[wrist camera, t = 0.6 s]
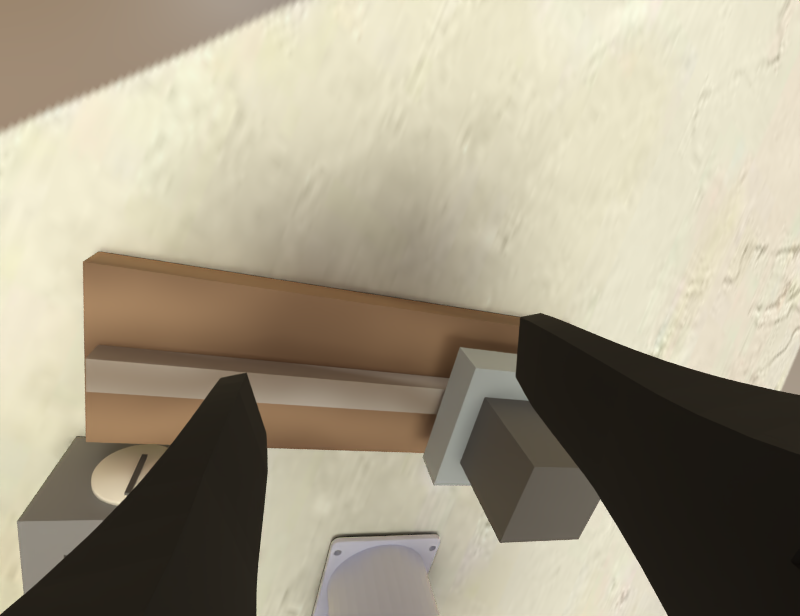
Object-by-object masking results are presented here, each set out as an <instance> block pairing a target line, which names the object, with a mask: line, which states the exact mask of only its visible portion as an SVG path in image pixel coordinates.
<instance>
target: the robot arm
mask: <svg viewBox="0 0 800 616" xmlns="http://www.w3.org/2000/svg"><path fill="white" fill-rule="evenodd" d="M515 377H516V379H517V381H518V383H519V384H520V386H521V388H522V390H523V392H524V394H525V395H526V397H527V399H528V400H529V402H530V404H531V405H532V407H533V408H534V410H535V411H536V413H537V414H538V415H539V417H540V418H541V419H542V421H543V422H544V423H545V425H546V426H547V427H548V429H549V430H550V431H551V432H552V434H553V435H554V436H555V438H556V439H557V440H558V442H559V443H560V444H561V445H562V447H563V448H564V449H565V451H566V452H567V453H568V454H569V456H570V457H571V458H572V460H573V461H574V462H575V464H576V465H577V466H578V467H579V469H580V470H581V471H582V473H583V474H584V475H585V477H586V478H587V480H588V481H589V482H590V484H591V485H592V487H593V488H594V489H595V491H596V493H597V494H598V496H599V497H600V499H601V501H602V502H603V504H604V505H605V507H606V509H607V510H608V512H609V513H610V515H611V517H612V518H613V520H614V521H615V523H616V525H617V526H618V528H619V530H620V531H621V533H622V535H623V537H624V538H625V540H626V542H627V543H628V545H629V547H630V548H631V550H632V552H633V554H634V555H635V557H636V559H637V560H638V562H639V564H640V565H641V567H642V569H643V571H644V573H645V575H646V576H647V578H648V580H649V582H650V584H651V586H652V587H653V589H654V591H655V593H656V595H657V596H658V598H659V600H660V602H661V604H662V606H663V607H664V609H665V611H666V613H667V615H668V616H800V395H796V394H791V393H786V392H781V391H776V390H771V389H767V388H763V387H758V386H754V385H750V384H745V383H741V382H736V381H733V380H729V379H725V378H721V377H717V376H713V375H710V374H707V373H703V372H700V371H696V370H693V369H689V368H686V367H683V366H679V365H676V364H673V363H670V362H667V361H664V360H661V359H658V358H656V357H653V356H650V355H647V354H644V353H642V352H639V351H636V350H633V349H631V348H628V347H626V346H623V345H620V344H618V343H615V342H613V341H610V340H608V339H605V338H603V337H600V336H598V335H596V334H593V333H591V332H588V331H586V330H583V329H581V328H579V327H576V326H574V325H571V324H569V323H566V322H564V321H561V320H559V319H556V318H554V317H551V316H548V315H545V314H542V313H539V314H534V315H529V316H524V317H520V324H519V337H518V350H517V363H516V375H515ZM267 472H268V467H267V433H266V430H265V427H264V424H263V421H262V418H261V415H260V412H259V409H258V406H257V403H256V400H255V397H254V394H253V391H252V387H251V384H250V381H249V378H248V375H247V372H246V373H241V374H236V375H232V376H227V377H222V378H220V379H219V380H218V382H217V383H216V384H215V386H214V387H213V388H212V390H211V391H210V392H209V394H208V395H207V396H206V398H205V399H204V401H203V402H202V403H201V405H200V406H199V408H198V409H197V410H196V412H195V413H194V414H193V416H192V417H191V419H190V420H189V421H188V423H187V424H186V425H185V427H184V428H183V429H182V431H181V432H180V433H179V434H178V436H177V437H176V438H175V440H174V441H173V442H172V444H171V445H170V446H169V448H168V449H167V450H166V451H165V452H164V454H163V455H162V456H161V457H160V458H159V460H158V461H157V462H156V463H155V464H154V466H153V467H152V468H151V469H150V470H149V472H148V473H147V474H146V475H145V476H144V478H143V479H142V480H141V481H140V482H139V483H138V484H137V486H136V487H135V488H134V489H133V490H132V491H131V492H130V493H129V494H128V495H127V497H126V498H125V499H124V500H123V501H122V502H121V503H120V504H119V505H118V506H117V507H116V508H115V509H114V510H113V511H112V512H111V513H110V514H109V515H108V516H107V517H106V518H105V519H104V520H103V522H102V523H101V524H100V525H99V526H98V527H97V528H96V529H95V530H94V531H93V532H92V533H91V534H89V535H88V536H87V537H86V538H85V539H84V540H83V541H82V542H81V543H80V544H79V545H78V546H77V547H76V548H74V549H73V550H72V551H71V552H70V553H69V554H68V555H67V556H66V557H65V558H64V559H63V560H61V561H60V562H59V563H58V564H57V565H56V566H55V567H54V568H53V569H52V570H51V571H50V572H49V573H47V574H46V575H45V576H44V577H43V578H42V579H41V580H40V581H39V582H38V583H37V584H35V585H34V586H33V587H32V588H31V589H30V590H29V591H27V592H26V593H25V594H24V595H23V596H22V597H20V598H19V599H18V600H17V601H16V602H15V603H13V604H12V605H11V606H10V607H9V608H8V609H6V610H5V611H4V612H3V613H2V614H1V615H0V616H256V592H257V573H258V560H259V551H260V541H261V532H262V522H263V513H264V503H265V493H266V483H267ZM439 545H440V538H439V536H438V535H436V534H426V535H397V536H369V537H341V538H336V539H334V540H333V541H332V543H331V546H330V550H329V553H328V557H327V561H326V565H325V569H324V572H323V576H322V580H321V584H320V587H319V591H318V595H317V599H316V603H315V606H314V610H313V614H312V616H440V614H439V611H438V608H437V604H436V601H435V598H434V595H433V591H432V588H431V585H430V581H429V578H428V573H429V570H430V568H431V565H432V563H433V560H434V557H435V555H436V552H437V550H438V547H439Z"/></svg>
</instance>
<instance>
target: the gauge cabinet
mask: <svg viewBox="0 0 800 616" xmlns="http://www.w3.org/2000/svg"><path fill="white" fill-rule="evenodd" d="M169 446H170V445H162V444H131V443H99V442H86V437H76V438H75V439H74V441H73V442H72V444H71V445H70V446H69V448H68V449H67V451H66V452H65V454H64V455H63V456H62V458H61V459H60V461H59V462H58V464H57V465H56V466H55V468H54V469H53V471H52V472H51V474H50V475H49V476H48V478H47V479H46V481H45V482H44V484H43V485H42V487H41V488H40V489H39V491H38V492H37V494H36V495H35V497H34V498H33V499H32V501H31V502H30V504H29V505H28V507H27V508H26V509H25V511H24V512H23V514H22V515H21V517H20V518H19V519H18V521H17V526H18V537H19V547H20V558H21V568H22V579H23V589H24V594H25V593H26V592H27V591H29V590H30V589H31V588H32V587H33V586H34V585H35V584H37V583H38V582H39V581H40V580H41V579H42V578H43V577H44V576H45V575H46V574H47V573H49V572H50V571H51V570H52V569H53V568H54V567H55V566H56V565H57V564H58V563H59V562H60V561H61V560H63V559H64V558H65V557H66V556H67V555H68V554H69V553H70V552H71V551H72V550H73V549H74V548H76V547H77V546H78V545H79V544H80V543H81V542H82V541H83V540H84V539H85V538H86V537H87V536H88V535H89V534H91V533H92V532H93V531H94V530H95V529H96V528H97V527H98V526H99V525H100V524H101V523H102V522H103V520H104V519H105V518H106V517H107V516H108V515H109V514H110V513H111V512H112V511H113V510H114V509H115V508H116V507H117V506H118V505H119V504H120V503H121V502H122V501H123V500H124V499H125V498H126V497H127V495H128V494H129V493H130V492H131V491H132V490H133V489H134V488H135V487H136V486H137V484H138V483H139V482H140V481H141V480H142V479H143V478H144V476H145V475H146V474H147V473H148V472H149V470H150V469H151V468H152V467H153V466H154V464H155V463H156V462H157V461H158V460H159V458H160V457H161V456H162V455H163V454H164V452H165V451H166V450H167V449H168V448H169Z"/></svg>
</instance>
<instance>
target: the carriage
mask: <svg viewBox="0 0 800 616" xmlns="http://www.w3.org/2000/svg"><path fill="white" fill-rule="evenodd" d="M516 363H517V354H512V353H504V352H496V351H488V350H479V349H471V348H463V347H460V348H459V351H458V354H457V357H456V360H455V363H454V366H453V369H452V372H451V375H450V378H449V381H448V384H447V387H446V390H445V393H444V396H443V399H442V402H441V405H440V408H439V411H438V414H437V416H436V419H435V422H434V425H433V428H432V431H431V434H430V437H429V440H428V443H427V446H426V449H425V452H424V455H423V459H424V462H425V464H426V467H427V469H428V472H429V474H430V477H431V479H432V482H433V484H434V485H471V486H472V488H473V490H474V492H475V494H476V496H477V498H478V500H479V502H480V504H481V506H482V508H483V510H484V512H485V514H486V516H487V518H488V520H489V522H490V524H491V526H492V528H493V530H494V532H495V534H496V536H497V538H498V540H499V542H500V543H505V542H528V541H550V540H572V539H579V537H580V535H581V533H582V532H583V530H584V528H585V526H586V524H587V522H588V521H589V519H590V517H591V515H592V513H593V511H594V510H595V508H596V506H597V504H598V502H599V500H600V497H599V496H598V494H597V493H596V491H595V489H594V488H593V487H592V485H591V484H590V482H589V481H588V480H587V478H586V477H585V475H584V474H583V473H582V471H581V470H580V469H579V467H578V466H577V465H576V464H575V462H574V461H573V460H572V458H571V457H570V456H569V454H568V453H567V452H566V451H565V449H564V448H563V447H562V445H561V444H560V443H559V442H558V440H557V439H556V438H555V436H554V435H553V434H552V432H551V431H550V430H549V429H548V427H547V426H546V425H545V423H544V422H543V421H542V419H541V418H540V417H539V415H538V414H537V413H536V411H535V410H534V408H533V407H532V405H531V404H530V402H529V400H528V399H527V397H526V395H525V394H524V392H523V390H522V388H521V386H520V384H519V383H518V381H517V379H516V377H515V375H516Z"/></svg>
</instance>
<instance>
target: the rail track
mask: <svg viewBox="0 0 800 616" xmlns="http://www.w3.org/2000/svg"><path fill="white" fill-rule="evenodd" d="M83 291H84V353H85V415H86V442H99V443H131V444H162V445H171V444H172V442H173V441H174V440H175V438H176V437H177V436H178V434H179V433H180V432H181V431H182V429H183V428H184V427H185V425H186V424H187V423H188V421H189V420H190V419H191V417H192V416H193V414H194V413H195V412H196V410H197V409H198V408H199V406H200V405H201V403H202V402H203V401H204V399H205V398H206V396H207V395H208V394H209V392H210V391H211V390H212V388H213V387H214V386H215V384H216V383H217V382H218V380H219V379H220V378H222V377H227V376H232V375H236V374H241V373H246V372H247V375H248V378H249V381H250V384H251V387H252V391H253V394H254V397H255V400H256V403H257V406H258V409H259V412H260V415H261V418H262V421H263V424H264V427H265V430H266V433H267V448H287V449H318V450H350V451H381V452H412V453H424V452H425V449H426V446H427V443H428V440H429V437H430V434H431V431H432V428H433V425H434V422H435V419H436V416H437V414H438V411H439V408H440V405H441V402H442V399H443V396H444V393H445V390H446V387H447V384H448V381H449V378H450V375H451V372H452V369H453V366H454V363H455V360H456V357H457V354H458V351H459V348H460V347H463V348H471V349H479V350H488V351H496V352H504V353H512V354H517V350H518V337H519V324H520V317H515V316H509V315H502V314H496V313H490V312H483V311H477V310H470V309H464V308H458V307H451V306H445V305H438V304H432V303H426V302H419V301H413V300H406V299H400V298H393V297H387V296H381V295H374V294H368V293H361V292H355V291H349V290H342V289H336V288H329V287H323V286H316V285H310V284H304V283H297V282H291V281H284V280H278V279H272V278H265V277H259V276H252V275H246V274H239V273H233V272H227V271H220V270H214V269H207V268H201V267H195V266H188V265H182V264H175V263H169V262H162V261H156V260H150V259H143V258H137V257H130V256H124V255H118V254H111V253H105V252H97V253H96V254H94V255H93V256H91V257H90V258H88V259H87V260H85V261H83Z"/></svg>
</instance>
